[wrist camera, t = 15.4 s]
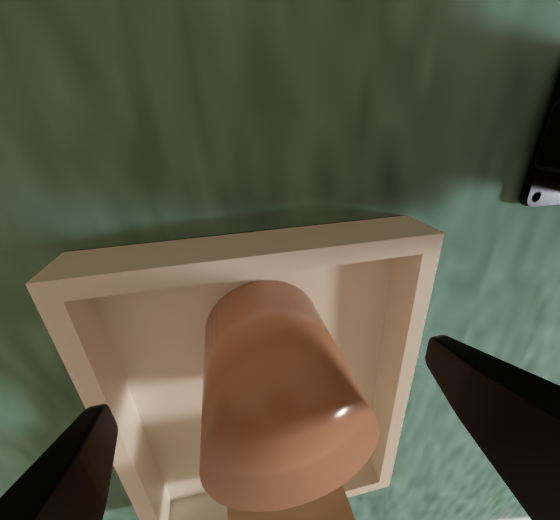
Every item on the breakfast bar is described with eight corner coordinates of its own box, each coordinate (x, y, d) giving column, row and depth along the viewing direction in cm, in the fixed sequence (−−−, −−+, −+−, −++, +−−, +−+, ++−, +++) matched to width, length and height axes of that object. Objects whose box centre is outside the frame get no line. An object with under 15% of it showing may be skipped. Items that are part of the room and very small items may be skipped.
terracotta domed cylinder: (316, 361, 15) (370, 485, 10) (213, 381, 14) (214, 529, 9) (317, 272, 13) (389, 373, 8) (195, 289, 12) (182, 416, 7)
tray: (406, 215, 13) (444, 232, 11) (370, 448, 21) (389, 485, 19) (62, 252, 11) (24, 283, 9) (162, 500, 19) (155, 551, 16)
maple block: (310, 452, 19) (349, 582, 13) (233, 470, 18) (241, 617, 13) (311, 399, 17) (358, 528, 11) (224, 417, 16) (229, 566, 10)
